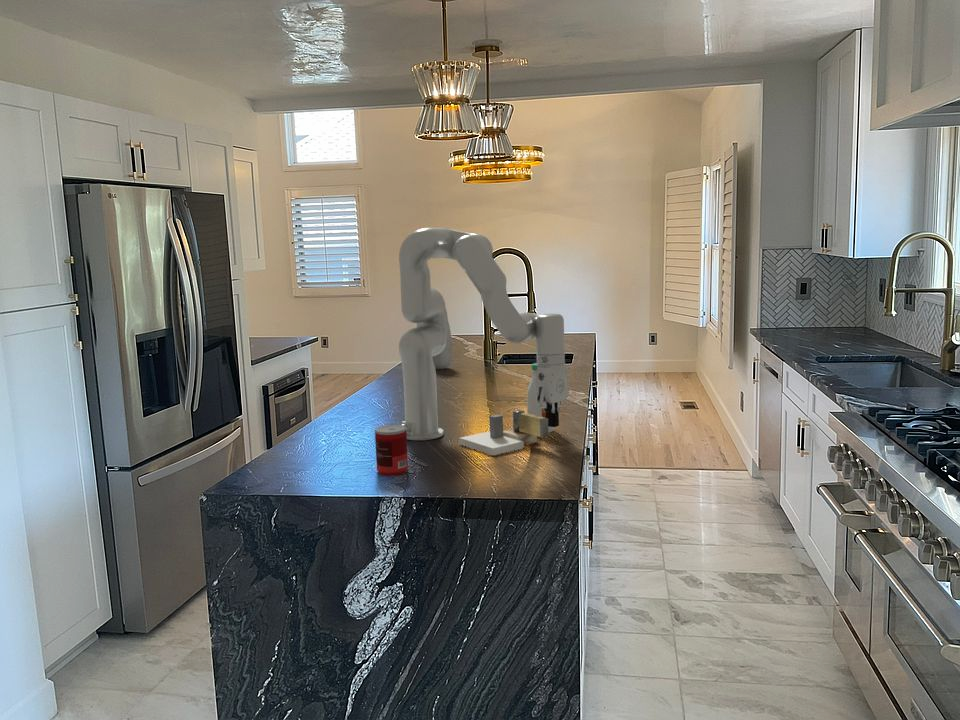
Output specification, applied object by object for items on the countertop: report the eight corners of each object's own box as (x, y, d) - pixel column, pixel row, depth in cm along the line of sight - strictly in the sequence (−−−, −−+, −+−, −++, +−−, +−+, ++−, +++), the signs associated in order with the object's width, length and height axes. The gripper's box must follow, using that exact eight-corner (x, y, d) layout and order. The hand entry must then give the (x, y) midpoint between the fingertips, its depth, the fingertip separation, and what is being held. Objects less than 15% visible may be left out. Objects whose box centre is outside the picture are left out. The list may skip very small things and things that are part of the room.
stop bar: (510, 430, 221) (510, 411, 220) (519, 428, 223) (519, 409, 222) (540, 438, 211) (540, 419, 210) (549, 436, 213) (549, 417, 212)
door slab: (493, 455, 208) (492, 426, 207) (459, 444, 220) (458, 416, 219) (523, 448, 214) (523, 419, 213) (489, 438, 226) (488, 410, 225)
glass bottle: (426, 368, 350) (423, 304, 345) (448, 366, 353) (446, 303, 348) (431, 371, 340) (429, 306, 336) (454, 369, 343) (452, 305, 339)
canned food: (408, 466, 201) (407, 423, 199) (407, 475, 193) (405, 431, 191) (378, 467, 201) (376, 425, 199) (375, 476, 193) (373, 432, 191)
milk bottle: (532, 435, 228) (531, 366, 225) (524, 429, 236) (522, 362, 233) (557, 432, 230) (556, 364, 227) (548, 426, 238) (547, 360, 235)
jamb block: (517, 446, 216) (517, 436, 216) (501, 441, 222) (501, 431, 221) (537, 442, 221) (536, 431, 220) (520, 437, 226) (520, 427, 226)
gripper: (547, 364, 206) (549, 433, 209) (577, 356, 217) (578, 422, 220) (523, 362, 210) (525, 430, 213) (553, 355, 222) (555, 419, 225)
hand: (552, 425), depth 217 cm, fingers closed
